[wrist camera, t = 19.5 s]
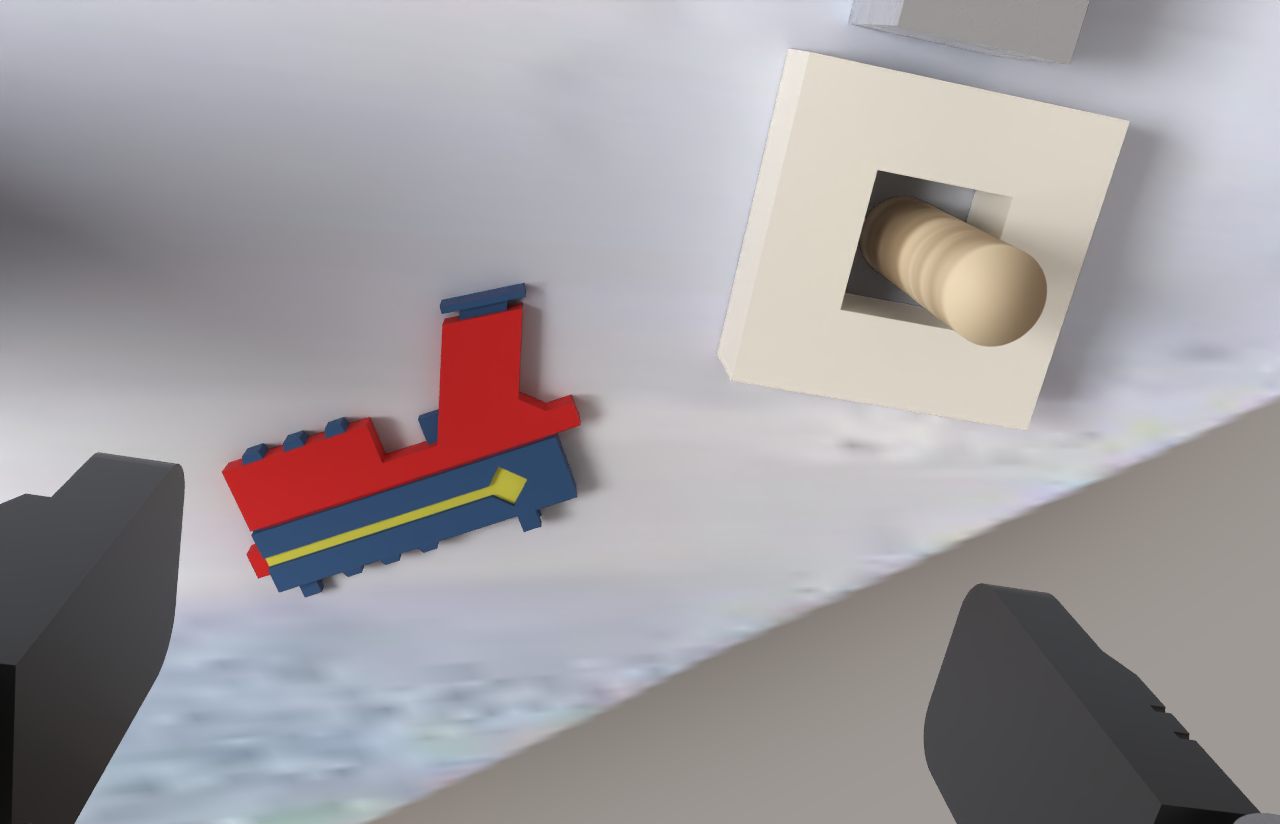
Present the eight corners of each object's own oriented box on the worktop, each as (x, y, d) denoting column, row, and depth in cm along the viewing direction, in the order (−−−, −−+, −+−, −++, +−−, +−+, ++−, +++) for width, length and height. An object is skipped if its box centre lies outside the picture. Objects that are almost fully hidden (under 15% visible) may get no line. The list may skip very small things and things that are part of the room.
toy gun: (178, 383, 45) (280, 595, 48) (166, 395, 43) (272, 613, 46) (528, 269, 44) (606, 490, 48) (528, 277, 43) (608, 505, 46)
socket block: (717, 353, 45) (731, 380, 42) (788, 48, 42) (809, 51, 38) (992, 401, 47) (1026, 430, 44) (1085, 112, 43) (1130, 121, 40)
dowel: (850, 268, 45) (935, 337, 35) (871, 188, 44) (964, 238, 34) (926, 282, 45) (1028, 354, 36) (948, 203, 44) (1060, 256, 35)
